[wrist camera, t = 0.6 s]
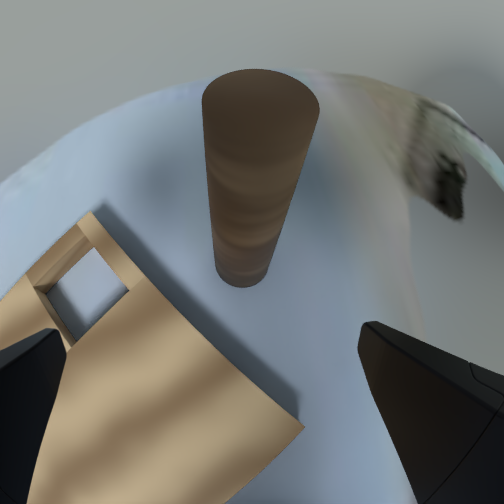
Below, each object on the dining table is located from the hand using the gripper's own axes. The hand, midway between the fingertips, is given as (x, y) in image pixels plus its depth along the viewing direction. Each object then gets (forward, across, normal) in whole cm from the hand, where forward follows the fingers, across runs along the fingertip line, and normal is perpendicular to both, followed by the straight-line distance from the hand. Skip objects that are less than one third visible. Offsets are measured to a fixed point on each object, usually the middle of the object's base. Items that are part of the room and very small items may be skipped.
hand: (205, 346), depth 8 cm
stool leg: (+15, -2, +3) cm, 15 cm away
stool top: (+7, +10, +12) cm, 17 cm away
